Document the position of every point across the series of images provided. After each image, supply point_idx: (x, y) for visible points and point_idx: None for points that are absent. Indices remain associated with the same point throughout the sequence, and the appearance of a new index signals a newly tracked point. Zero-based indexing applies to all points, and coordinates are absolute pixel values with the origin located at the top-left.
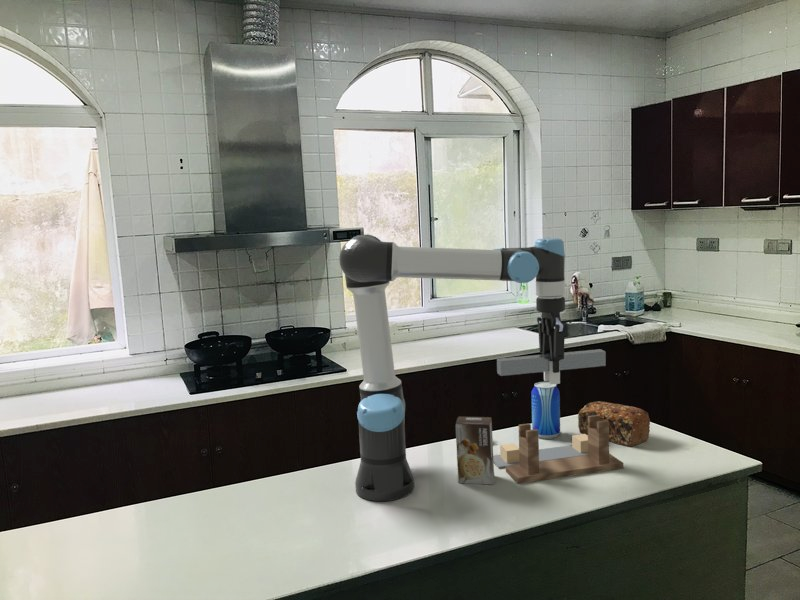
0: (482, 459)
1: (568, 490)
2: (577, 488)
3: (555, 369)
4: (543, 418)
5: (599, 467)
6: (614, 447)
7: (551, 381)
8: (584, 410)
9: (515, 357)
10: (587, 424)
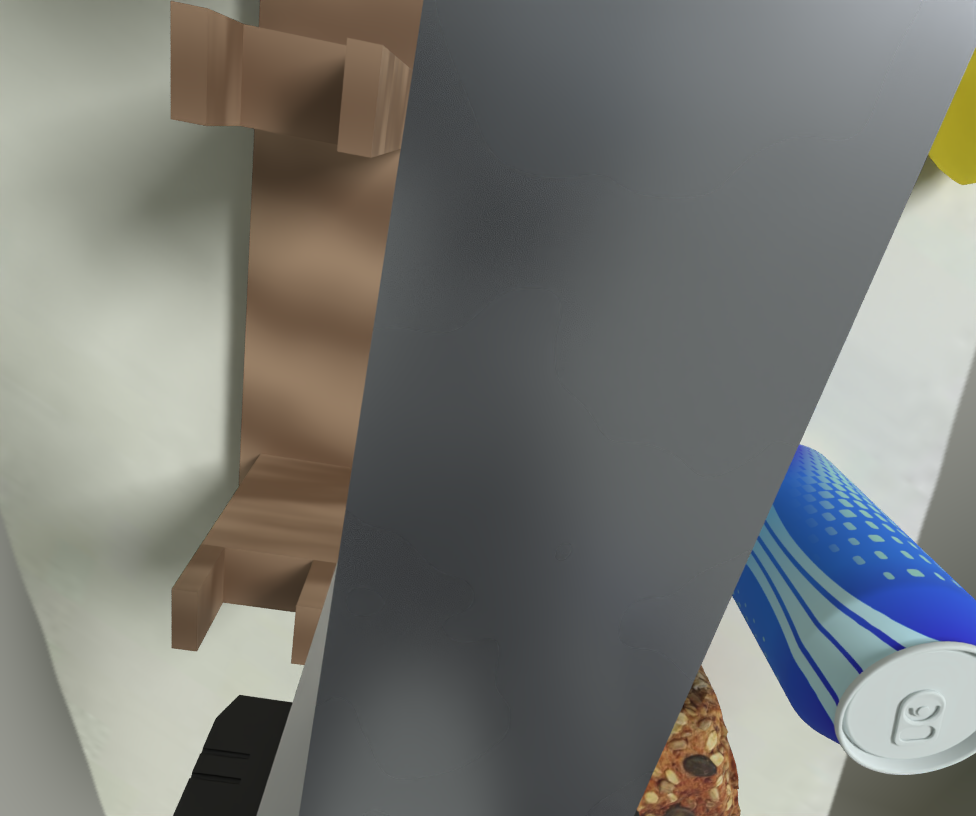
0: None
1: (100, 169)
2: (110, 225)
3: (204, 755)
4: None
5: (243, 440)
6: None
7: (332, 584)
8: (684, 727)
9: (812, 214)
10: None
